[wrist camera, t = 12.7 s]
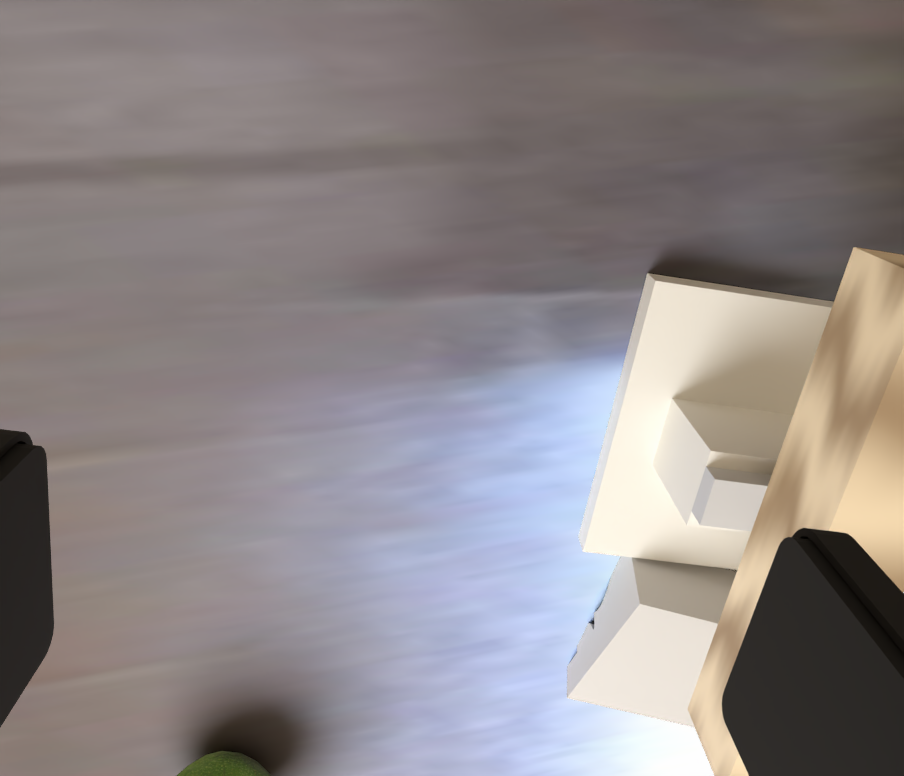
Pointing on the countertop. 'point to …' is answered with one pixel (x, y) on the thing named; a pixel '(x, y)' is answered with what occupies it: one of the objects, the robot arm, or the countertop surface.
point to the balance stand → (699, 420)
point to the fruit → (224, 765)
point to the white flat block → (650, 638)
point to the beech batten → (826, 469)
